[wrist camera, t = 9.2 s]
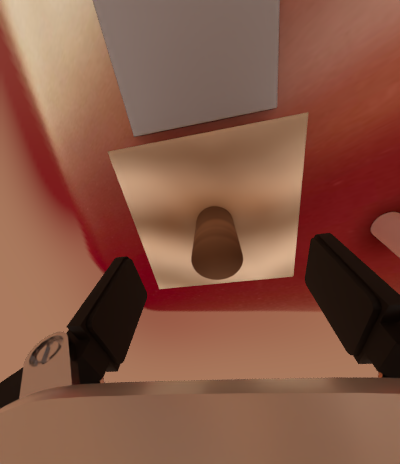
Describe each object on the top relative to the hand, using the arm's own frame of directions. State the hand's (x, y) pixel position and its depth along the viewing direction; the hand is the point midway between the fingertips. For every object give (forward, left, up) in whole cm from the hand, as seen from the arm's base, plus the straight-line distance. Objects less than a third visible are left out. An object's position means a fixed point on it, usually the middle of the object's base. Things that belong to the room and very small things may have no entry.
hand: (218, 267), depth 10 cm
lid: (+1, 0, -8) cm, 8 cm away
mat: (-15, 0, -15) cm, 21 cm away
